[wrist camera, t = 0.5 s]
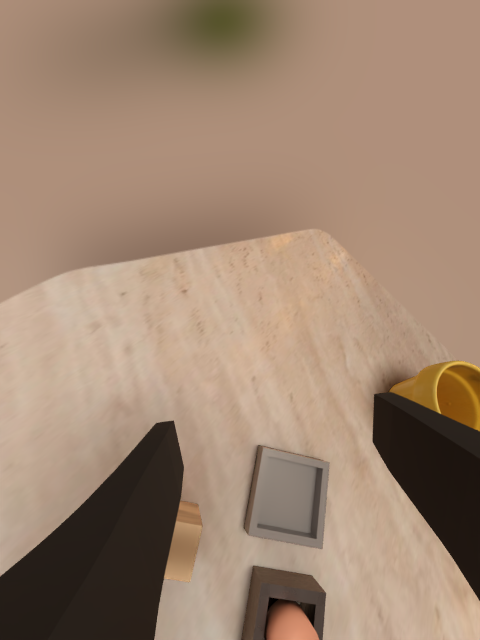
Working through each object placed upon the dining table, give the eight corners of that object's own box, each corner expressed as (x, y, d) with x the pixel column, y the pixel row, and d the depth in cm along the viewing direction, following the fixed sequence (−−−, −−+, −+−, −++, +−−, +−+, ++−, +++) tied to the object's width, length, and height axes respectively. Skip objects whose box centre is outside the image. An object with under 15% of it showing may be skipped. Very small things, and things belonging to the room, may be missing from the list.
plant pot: (385, 449, 36) (455, 462, 27) (367, 373, 39) (423, 362, 30) (444, 439, 38) (526, 448, 29) (422, 369, 42) (490, 357, 33)
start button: (302, 660, 25) (317, 691, 22) (259, 654, 25) (270, 685, 22) (308, 601, 27) (323, 623, 24) (268, 594, 26) (278, 616, 23)
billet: (187, 548, 28) (189, 582, 22) (150, 541, 27) (142, 574, 22) (197, 504, 29) (202, 526, 24) (162, 497, 29) (158, 518, 23)
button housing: (304, 662, 27) (318, 691, 24) (239, 653, 26) (246, 683, 23) (312, 575, 29) (325, 592, 26) (253, 565, 28) (261, 582, 26)
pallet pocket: (313, 540, 30) (322, 549, 29) (243, 527, 29) (248, 535, 27) (321, 459, 34) (329, 462, 32) (258, 445, 32) (263, 447, 31)
